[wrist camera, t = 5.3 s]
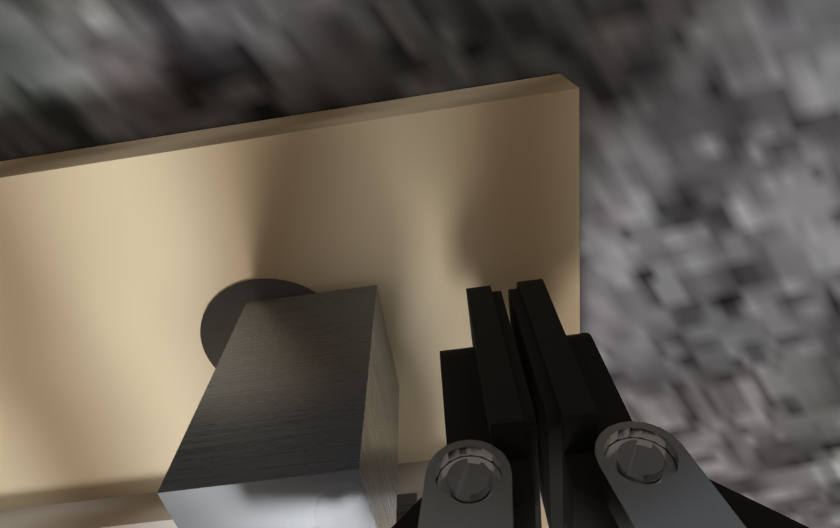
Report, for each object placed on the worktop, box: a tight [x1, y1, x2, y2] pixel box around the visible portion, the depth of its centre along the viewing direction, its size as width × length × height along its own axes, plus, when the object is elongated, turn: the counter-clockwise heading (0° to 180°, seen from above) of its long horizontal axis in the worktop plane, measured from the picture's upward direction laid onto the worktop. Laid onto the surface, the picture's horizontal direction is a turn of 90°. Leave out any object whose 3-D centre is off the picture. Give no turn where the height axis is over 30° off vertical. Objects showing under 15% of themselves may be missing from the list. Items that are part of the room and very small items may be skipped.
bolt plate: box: [0, 74, 580, 528], centre depth 13 cm, size 27×14×7 cm, turn 98°
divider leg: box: [157, 285, 418, 528], centre depth 12 cm, size 3×8×5 cm, turn 9°
